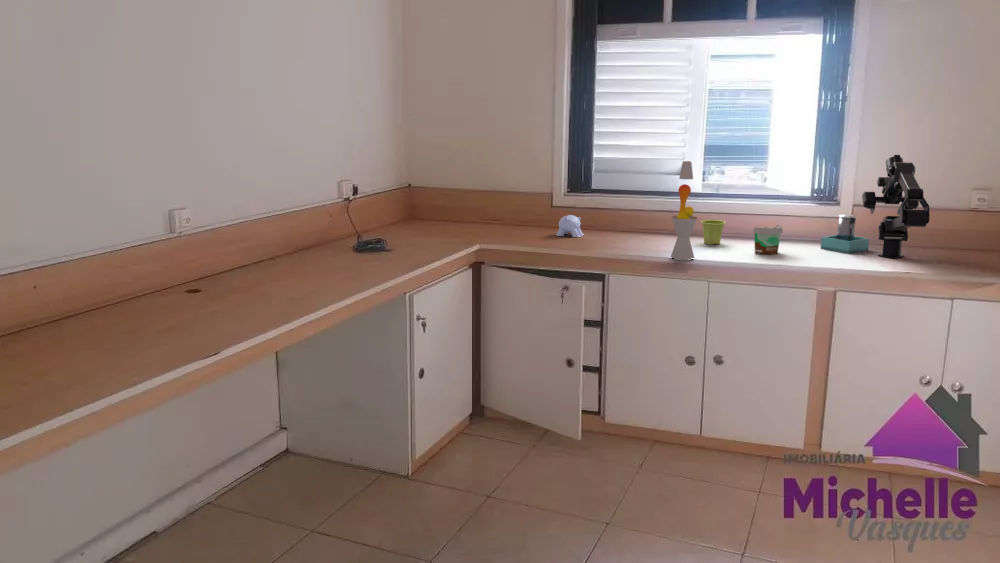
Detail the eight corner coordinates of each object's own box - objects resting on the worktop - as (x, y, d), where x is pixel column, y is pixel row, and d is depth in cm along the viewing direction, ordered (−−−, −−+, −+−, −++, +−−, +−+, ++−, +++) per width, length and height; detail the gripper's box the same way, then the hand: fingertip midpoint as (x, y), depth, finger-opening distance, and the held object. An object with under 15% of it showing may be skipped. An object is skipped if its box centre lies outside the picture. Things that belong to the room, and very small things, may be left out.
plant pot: (727, 242, 324) (728, 221, 322) (719, 246, 316) (721, 224, 314) (704, 240, 329) (705, 219, 327) (696, 244, 321) (697, 222, 319)
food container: (763, 256, 296) (765, 229, 293) (751, 253, 301) (753, 227, 299) (788, 253, 301) (790, 227, 299) (775, 250, 307) (777, 224, 304)
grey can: (845, 244, 312) (849, 214, 309) (856, 247, 306) (860, 216, 303) (832, 245, 310) (835, 214, 308) (842, 248, 305) (845, 217, 302)
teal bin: (848, 253, 300) (849, 241, 299) (820, 248, 310) (821, 237, 309) (868, 250, 307) (869, 238, 306) (840, 245, 316) (841, 234, 315)
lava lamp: (667, 259, 291) (672, 161, 283) (671, 254, 300) (676, 159, 292) (693, 261, 288) (698, 162, 280) (696, 256, 296) (701, 160, 288)
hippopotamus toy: (588, 233, 347) (588, 211, 345) (577, 239, 333) (578, 216, 331) (564, 231, 351) (564, 210, 349) (553, 237, 338) (553, 214, 335)
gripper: (920, 170, 295) (908, 197, 309) (865, 170, 299) (856, 196, 312) (924, 195, 290) (912, 220, 303) (868, 193, 294) (859, 219, 307)
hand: (884, 213), depth 306 cm, fingers open, 9 cm apart
